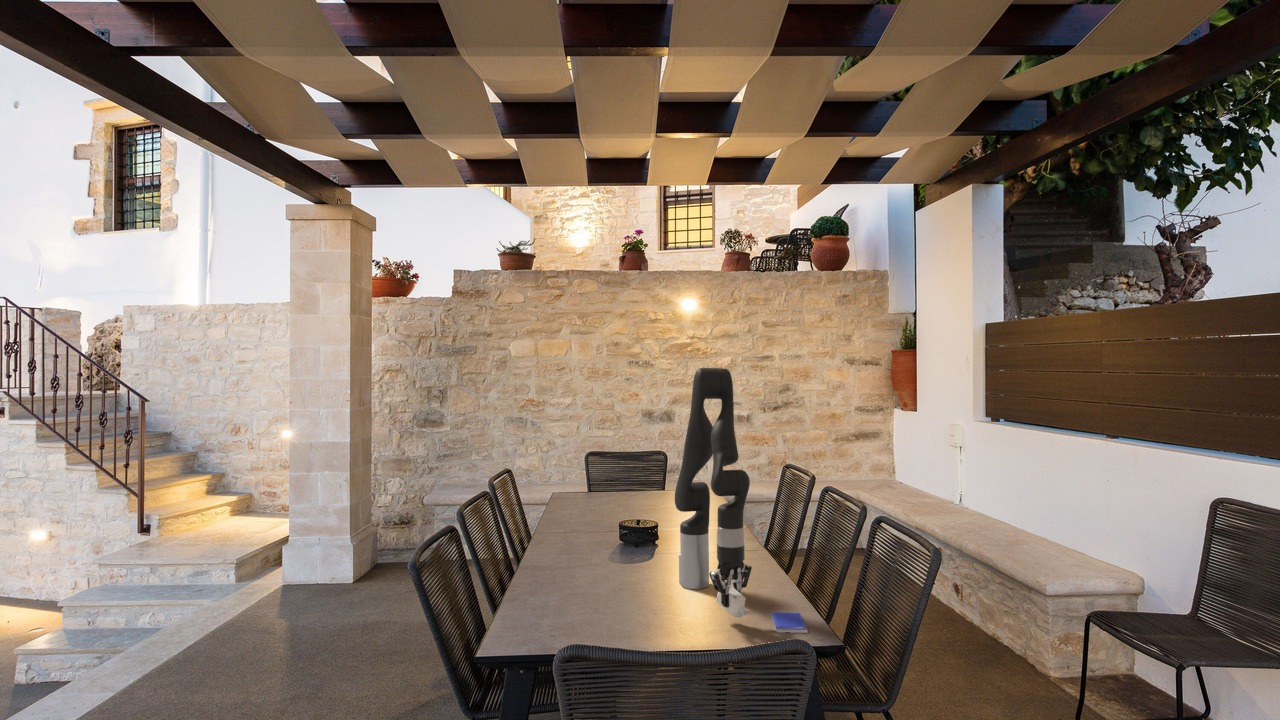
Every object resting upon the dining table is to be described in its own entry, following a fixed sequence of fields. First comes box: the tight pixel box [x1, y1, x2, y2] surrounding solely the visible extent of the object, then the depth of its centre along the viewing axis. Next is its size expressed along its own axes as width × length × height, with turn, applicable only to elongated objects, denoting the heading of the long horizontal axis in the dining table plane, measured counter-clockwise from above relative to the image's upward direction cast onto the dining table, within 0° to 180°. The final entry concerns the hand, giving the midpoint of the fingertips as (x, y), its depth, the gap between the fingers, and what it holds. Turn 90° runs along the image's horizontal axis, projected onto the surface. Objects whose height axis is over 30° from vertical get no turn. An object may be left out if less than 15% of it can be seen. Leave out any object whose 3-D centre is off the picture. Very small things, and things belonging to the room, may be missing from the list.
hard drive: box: [770, 612, 809, 634], centre depth 190 cm, size 2×8×12 cm
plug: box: [716, 585, 750, 618], centre depth 190 cm, size 11×3×5 cm, turn 34°
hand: (731, 604), depth 191 cm, fingers closed on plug, 3 cm apart
